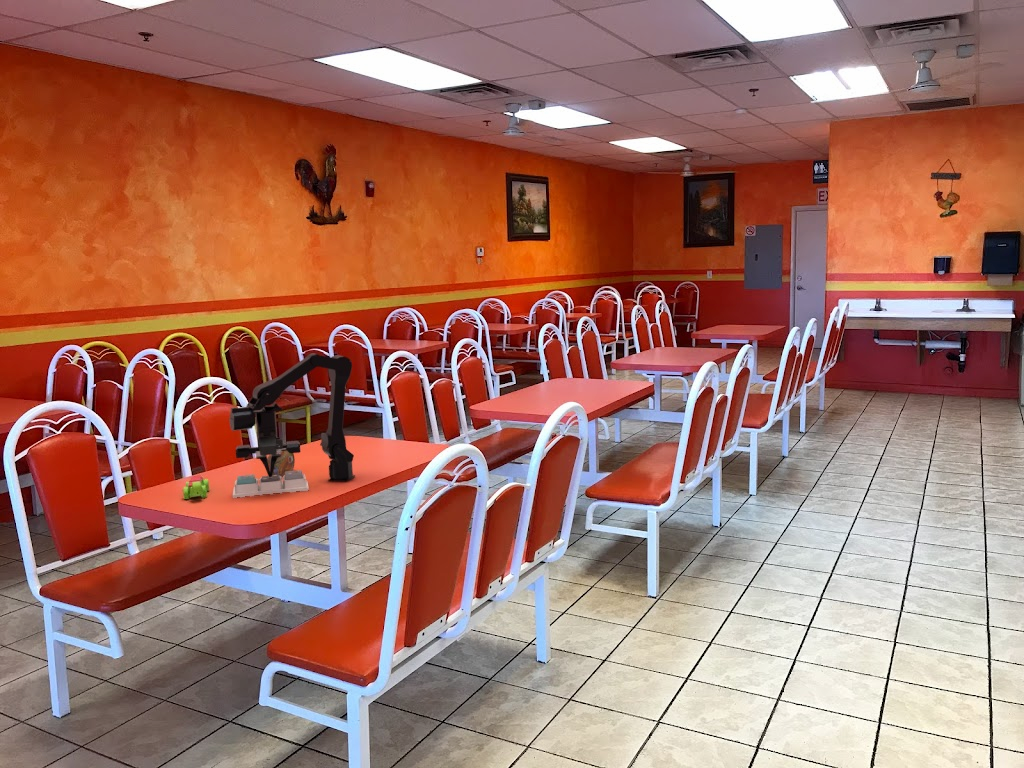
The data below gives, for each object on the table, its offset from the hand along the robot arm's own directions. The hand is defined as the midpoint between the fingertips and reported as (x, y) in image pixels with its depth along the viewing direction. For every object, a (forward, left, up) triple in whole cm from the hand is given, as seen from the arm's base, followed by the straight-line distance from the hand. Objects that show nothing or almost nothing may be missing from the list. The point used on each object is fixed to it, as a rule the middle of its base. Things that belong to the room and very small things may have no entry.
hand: (270, 476), depth 256 cm
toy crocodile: (+21, +7, -5) cm, 23 cm away
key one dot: (+6, +4, -2) cm, 7 cm away
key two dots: (-6, -4, -2) cm, 7 cm away
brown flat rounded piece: (+7, -19, -5) cm, 21 cm away
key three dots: (0, 0, -3) cm, 3 cm away
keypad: (0, 0, -4) cm, 4 cm away
